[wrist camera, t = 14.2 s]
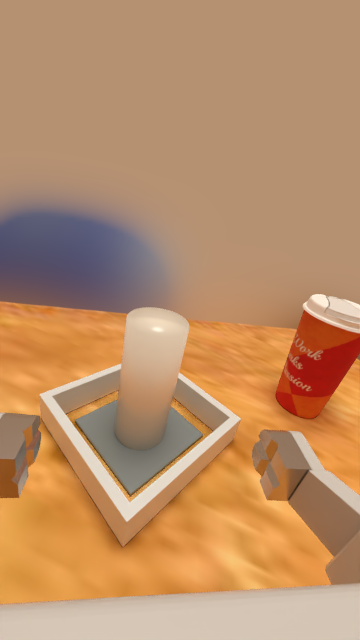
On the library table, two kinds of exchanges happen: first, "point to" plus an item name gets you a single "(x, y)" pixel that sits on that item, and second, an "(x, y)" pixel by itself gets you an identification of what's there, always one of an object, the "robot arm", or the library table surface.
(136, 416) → the white pillar candle
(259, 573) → the library table surface
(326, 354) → the paper cup
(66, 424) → the corral
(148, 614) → the robot arm
